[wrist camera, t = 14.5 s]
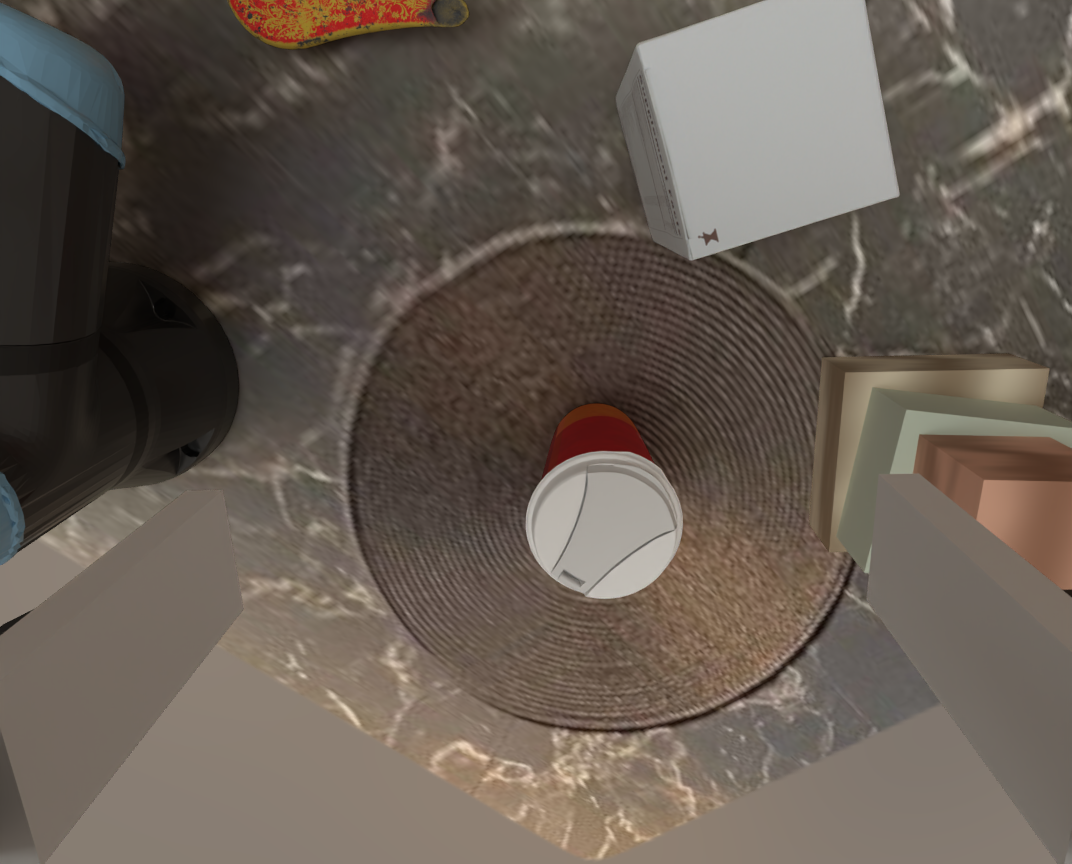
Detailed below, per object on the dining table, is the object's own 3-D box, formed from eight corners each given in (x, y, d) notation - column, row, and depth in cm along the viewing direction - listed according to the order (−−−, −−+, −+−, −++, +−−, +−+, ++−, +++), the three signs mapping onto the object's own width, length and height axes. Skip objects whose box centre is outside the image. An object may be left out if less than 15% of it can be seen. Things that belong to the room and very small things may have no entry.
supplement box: (795, 201, 48) (908, 206, 32) (652, 246, 49) (691, 272, 33) (761, 39, 46) (865, -43, 29) (611, 91, 47) (631, 39, 31)
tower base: (806, 520, 55) (828, 552, 50) (819, 355, 51) (845, 372, 47) (979, 519, 54) (1018, 550, 50) (1004, 351, 51) (1049, 368, 46)
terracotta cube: (900, 549, 45) (958, 612, 38) (919, 434, 42) (983, 479, 36) (1024, 552, 44) (1104, 616, 38) (1049, 436, 42) (1139, 483, 36)
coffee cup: (610, 519, 55) (624, 635, 41) (513, 458, 54) (493, 555, 40) (680, 427, 53) (721, 515, 38) (581, 361, 52) (585, 426, 37)
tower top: (836, 536, 50) (864, 572, 45) (872, 387, 47) (906, 409, 42) (990, 553, 50) (1034, 592, 45) (1036, 405, 47) (1089, 429, 42)
